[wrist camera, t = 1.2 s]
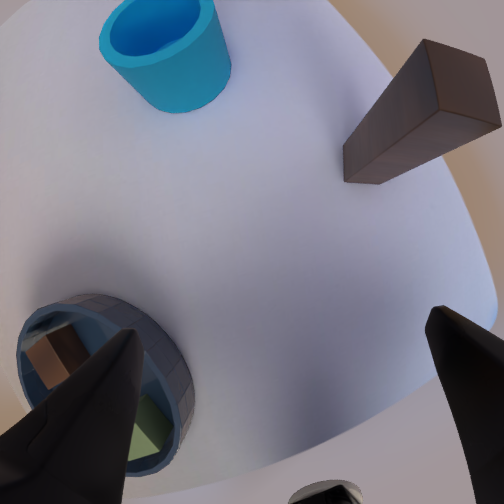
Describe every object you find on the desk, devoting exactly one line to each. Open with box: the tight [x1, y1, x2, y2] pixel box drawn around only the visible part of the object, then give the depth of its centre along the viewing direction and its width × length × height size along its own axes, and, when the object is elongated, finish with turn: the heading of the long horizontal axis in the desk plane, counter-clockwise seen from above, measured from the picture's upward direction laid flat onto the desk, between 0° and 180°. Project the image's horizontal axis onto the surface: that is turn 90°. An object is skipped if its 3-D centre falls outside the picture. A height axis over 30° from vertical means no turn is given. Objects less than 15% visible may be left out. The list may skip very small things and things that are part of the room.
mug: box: [99, 0, 231, 113], centre depth 19 cm, size 12×8×8 cm
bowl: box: [16, 294, 195, 477], centre depth 23 cm, size 17×17×4 cm
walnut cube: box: [26, 324, 91, 390], centre depth 22 cm, size 4×4×4 cm
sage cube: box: [128, 394, 173, 461], centre depth 22 cm, size 4×4×4 cm
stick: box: [343, 39, 502, 185], centre depth 15 cm, size 3×3×15 cm
